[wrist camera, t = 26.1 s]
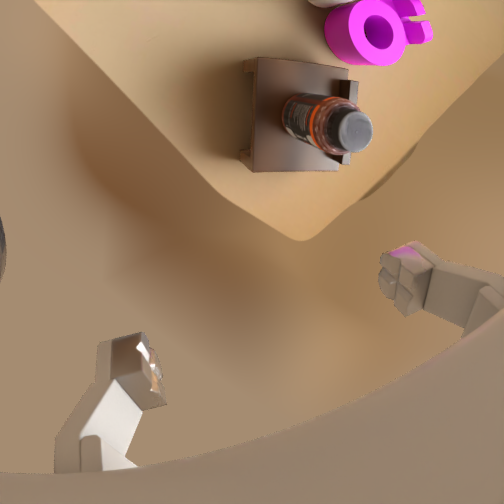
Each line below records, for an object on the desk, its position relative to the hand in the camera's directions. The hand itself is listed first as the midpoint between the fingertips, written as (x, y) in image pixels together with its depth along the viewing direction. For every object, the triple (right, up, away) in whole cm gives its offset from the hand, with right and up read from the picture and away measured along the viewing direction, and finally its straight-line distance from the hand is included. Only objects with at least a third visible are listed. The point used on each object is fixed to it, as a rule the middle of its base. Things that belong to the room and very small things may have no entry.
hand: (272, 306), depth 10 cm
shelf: (+4, +21, +30) cm, 37 cm away
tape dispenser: (+17, +35, +26) cm, 47 cm away
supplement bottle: (+5, +18, +25) cm, 32 cm away
